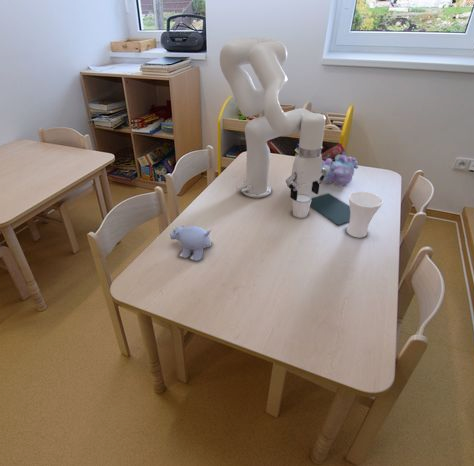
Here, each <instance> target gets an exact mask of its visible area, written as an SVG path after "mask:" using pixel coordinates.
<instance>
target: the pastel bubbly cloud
mask: <svg viewBox="0 0 474 466" xmlns="http://www.w3.org/2000/svg"><path fill="white" fill-rule="evenodd" d="M321 155H322V169H325V170H327V172H326V174H325V176H324V179H323V180H322V181H321V182H324V183H326V184H333V183H334V182H335V183H336V185H338V186H342V187H343V186H346V185H348V184H350V183H351V181H352V180H353V176H354V174H355V170H356V169H359V166H358V164H359V162H358V161H357V159H356V157H353V156H346V155H347V151H346V150H345V148H344V146H343V144H342V142H339V143H337V144H336V145H334V146H332V147H330V148H329V149H327V150H326V151H324V152H323V153H322V152H321Z"/></svg>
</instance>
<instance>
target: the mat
mask: <svg viewBox="0 0 474 466" xmlns="http://www.w3.org/2000/svg"><path fill="white" fill-rule="evenodd" d="M311 199H312V201H311V204H310V208H312V209H313V210H314V211H316V212H317V213H319V214H321V216H323V217H325V218H326V219H327V220H329V221H331V222H332V223H334V224H335V225H336V226H341V225H344V224H347V223H349V222H350V205H348V204H346V203H345V202H343V201H341V199H338V198H337V197H335V196H333V195H332V194H330V193H326V194H321V195H319V196H316V197H315V196H314V197H311Z"/></svg>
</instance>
